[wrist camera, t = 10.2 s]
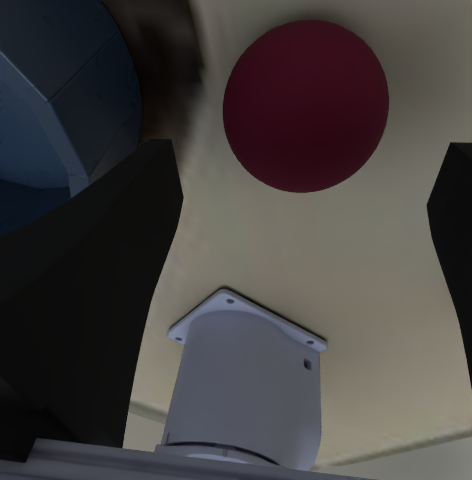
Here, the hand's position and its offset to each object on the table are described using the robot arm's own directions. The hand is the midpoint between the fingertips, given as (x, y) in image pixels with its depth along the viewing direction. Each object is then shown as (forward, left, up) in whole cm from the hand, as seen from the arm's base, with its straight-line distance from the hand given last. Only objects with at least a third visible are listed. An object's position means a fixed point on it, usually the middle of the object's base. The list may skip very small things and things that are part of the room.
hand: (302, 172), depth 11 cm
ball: (0, 0, -6) cm, 6 cm away
